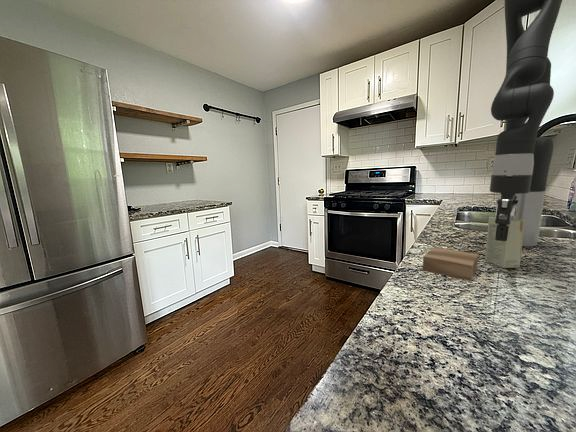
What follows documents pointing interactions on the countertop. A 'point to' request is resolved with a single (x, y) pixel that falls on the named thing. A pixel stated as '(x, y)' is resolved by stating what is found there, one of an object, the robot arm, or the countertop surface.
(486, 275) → the countertop surface
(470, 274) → the walnut block
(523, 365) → the countertop surface
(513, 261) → the skincare box
